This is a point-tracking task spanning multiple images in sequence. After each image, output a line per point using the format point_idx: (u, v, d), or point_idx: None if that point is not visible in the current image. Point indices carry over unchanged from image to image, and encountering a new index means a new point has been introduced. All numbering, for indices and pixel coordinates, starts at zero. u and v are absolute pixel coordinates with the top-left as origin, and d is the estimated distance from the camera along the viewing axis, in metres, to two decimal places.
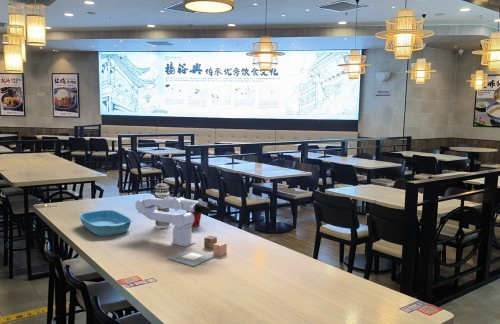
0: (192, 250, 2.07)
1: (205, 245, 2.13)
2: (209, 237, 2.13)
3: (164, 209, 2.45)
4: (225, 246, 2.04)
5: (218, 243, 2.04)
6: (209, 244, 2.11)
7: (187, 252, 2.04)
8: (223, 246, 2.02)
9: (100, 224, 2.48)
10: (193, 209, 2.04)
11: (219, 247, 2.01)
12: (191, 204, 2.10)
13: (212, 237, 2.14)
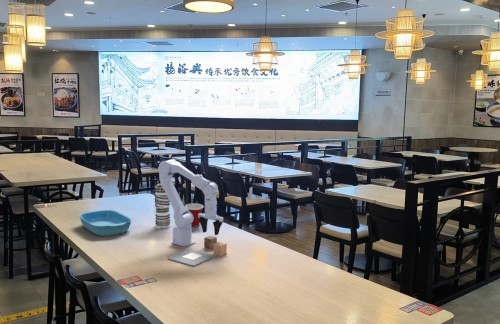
0: (192, 250, 2.07)
1: (205, 245, 2.13)
2: (209, 237, 2.13)
3: (164, 209, 2.45)
4: (225, 246, 2.04)
5: (218, 243, 2.04)
6: (209, 244, 2.11)
7: (187, 252, 2.04)
8: (223, 246, 2.02)
9: (100, 224, 2.48)
10: (221, 221, 2.08)
11: (219, 247, 2.01)
12: None
13: (212, 237, 2.14)
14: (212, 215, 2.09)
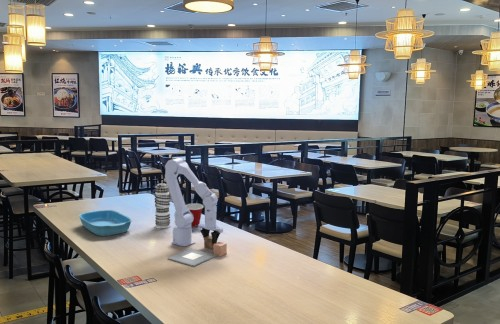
0: (192, 250, 2.07)
1: (205, 245, 2.13)
2: (209, 237, 2.13)
3: (164, 209, 2.45)
4: (225, 246, 2.04)
5: (218, 243, 2.04)
6: (209, 244, 2.11)
7: (187, 252, 2.04)
8: (223, 246, 2.02)
9: (100, 224, 2.48)
10: (220, 232, 2.09)
11: (219, 247, 2.01)
12: None
13: None
14: (212, 226, 2.10)
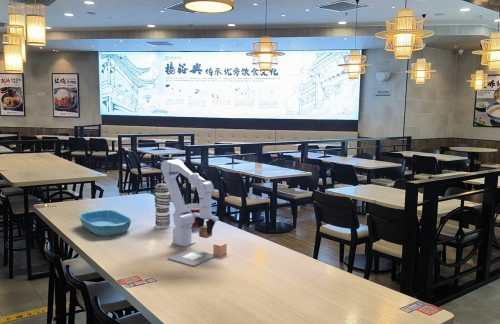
0: (192, 250, 2.07)
1: (200, 234, 2.07)
2: (204, 226, 2.08)
3: (164, 209, 2.45)
4: (225, 246, 2.04)
5: (218, 243, 2.04)
6: (204, 233, 2.06)
7: (187, 252, 2.04)
8: (223, 246, 2.02)
9: (100, 224, 2.48)
10: None
11: (219, 247, 2.01)
12: None
13: None
14: (207, 214, 2.04)
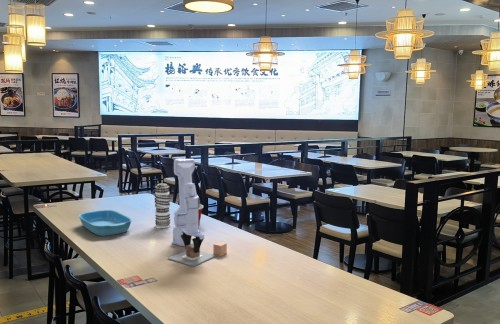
0: None
1: (187, 254, 1.98)
2: (191, 245, 1.98)
3: (164, 209, 2.45)
4: (225, 246, 2.04)
5: (218, 243, 2.04)
6: (190, 253, 1.96)
7: None
8: (223, 246, 2.02)
9: (100, 224, 2.48)
10: (201, 238, 1.93)
11: (219, 247, 2.01)
12: (197, 225, 1.96)
13: None
14: (193, 231, 1.94)
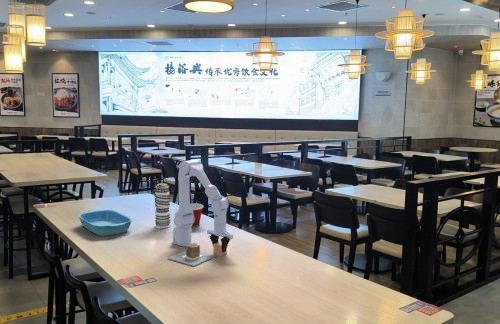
0: None
1: (187, 254, 1.98)
2: (191, 245, 1.98)
3: (164, 209, 2.45)
4: None
5: (218, 243, 2.04)
6: (190, 253, 1.96)
7: None
8: None
9: (99, 224, 2.48)
10: None
11: (219, 247, 2.01)
12: (225, 226, 2.02)
13: (195, 245, 1.98)
14: (222, 232, 2.00)
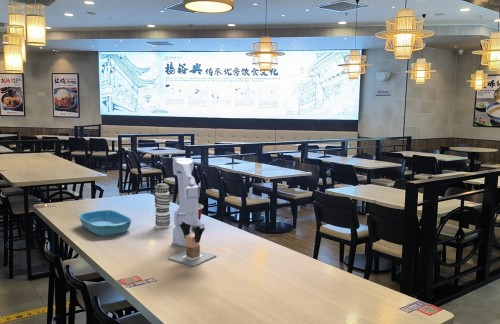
0: None
1: (187, 254, 1.98)
2: None
3: (164, 209, 2.45)
4: None
5: (190, 234, 1.98)
6: (190, 253, 1.96)
7: None
8: None
9: (99, 224, 2.48)
10: (201, 228, 1.92)
11: (190, 239, 1.95)
12: (197, 215, 1.95)
13: None
14: (193, 221, 1.93)
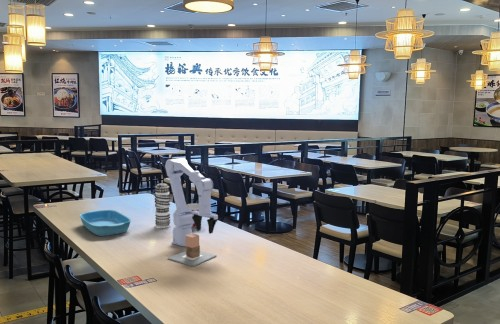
0: None
1: (187, 254, 1.98)
2: None
3: (164, 209, 2.45)
4: (197, 238, 1.97)
5: (190, 234, 1.98)
6: (190, 253, 1.96)
7: None
8: (195, 238, 1.96)
9: (100, 224, 2.48)
10: (215, 219, 2.00)
11: (190, 239, 1.95)
12: (210, 207, 2.02)
13: None
14: (206, 212, 2.01)
